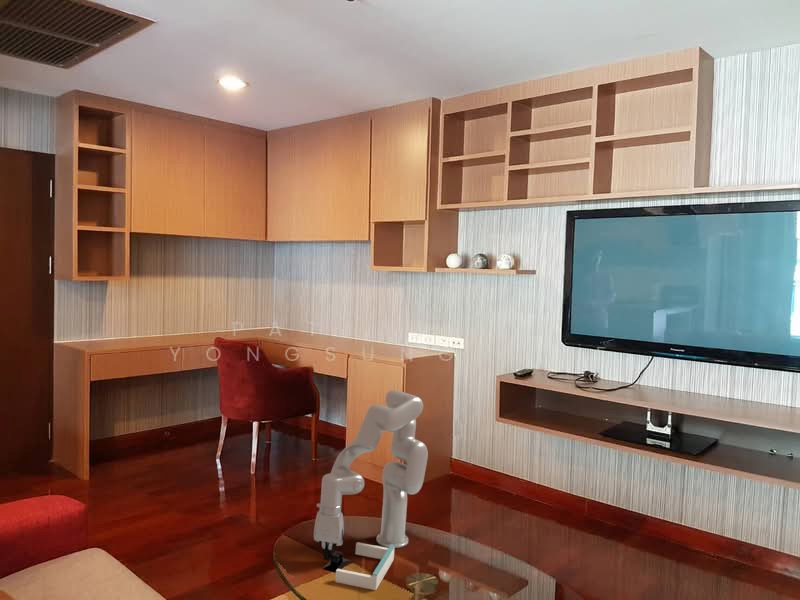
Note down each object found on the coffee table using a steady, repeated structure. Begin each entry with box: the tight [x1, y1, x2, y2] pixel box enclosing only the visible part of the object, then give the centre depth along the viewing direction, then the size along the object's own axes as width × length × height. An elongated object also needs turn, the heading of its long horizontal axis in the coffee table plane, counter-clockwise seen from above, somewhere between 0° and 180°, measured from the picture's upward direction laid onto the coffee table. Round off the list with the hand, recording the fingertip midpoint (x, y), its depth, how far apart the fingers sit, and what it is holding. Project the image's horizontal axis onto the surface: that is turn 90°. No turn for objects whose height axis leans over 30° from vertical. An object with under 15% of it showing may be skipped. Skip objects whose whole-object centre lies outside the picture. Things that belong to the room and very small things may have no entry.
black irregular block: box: [321, 550, 352, 574], centre depth 224 cm, size 12×7×5 cm, turn 159°
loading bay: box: [334, 541, 396, 591], centre depth 221 cm, size 23×14×5 cm, turn 166°
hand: (327, 558), depth 224 cm, fingers closed
